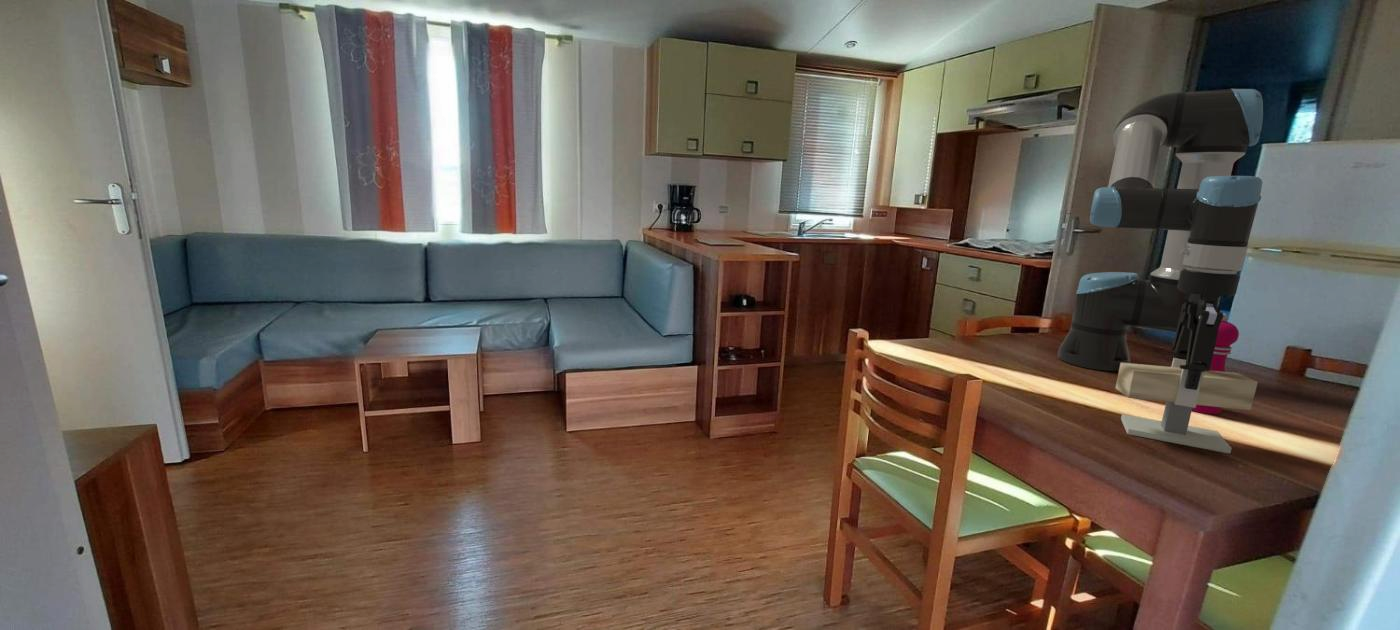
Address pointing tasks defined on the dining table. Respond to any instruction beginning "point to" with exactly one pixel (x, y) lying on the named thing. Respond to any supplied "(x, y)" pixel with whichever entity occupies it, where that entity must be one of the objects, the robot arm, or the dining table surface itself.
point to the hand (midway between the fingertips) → (1180, 399)
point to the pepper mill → (1220, 356)
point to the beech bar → (1165, 381)
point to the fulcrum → (1175, 429)
